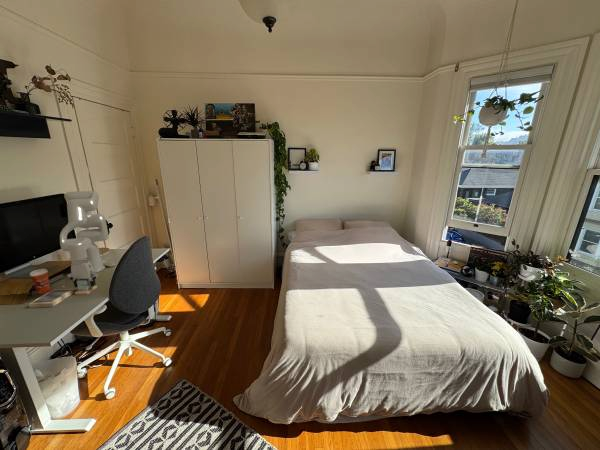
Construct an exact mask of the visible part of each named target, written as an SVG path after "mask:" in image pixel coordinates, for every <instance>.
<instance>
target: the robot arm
mask: <svg viewBox="0 0 600 450" xmlns="http://www.w3.org/2000/svg"><path fill="white" fill-rule="evenodd" d="M63 197H64V199H65V201H66V208H67V210H66V211H67V219H68V223H67V224H66V225H65V226H64V227H63V228H62V229H61V231H60V234H59V245H60V248H61V250H62V251H63V252H68V253H69V257H70V261H71V264H70V272H71V273H68V274H67V278H69V280H71V282H73V286H74V288H78V285H77V280H79V279H87V278H88V279H89V280H91V281H90V284H91V287H93V286H95V285H97V284H96V279H97V278H98V277H99V272H101V270H102V271H103V269H104V268H106V266H105V264H104V263H106V260H102V258H101V253H100V249H99V245H97V244H96V242H98V243H99V242H105V241H108V239H109V230H108V225H107V220H106V219H107V218H106V217H105V215H103V214H101V213H94V214H92V212H94V211H97V209H98V207H99V206H98V205H99V200H100V199H99V197H100V196H99V194H98V192H96V191H94V190H84V191H83V190H82V191H81V190H80V191H78V190H77V191H68V192H67V191H66V192H65V193H64V196H63ZM78 227H79V228H80V229H82V230H79V231H78V232H77V233H76V238H68V235H69V233H70V232H71V231H73V230H75V229H76V228H78ZM103 264H104V265H103ZM104 270H105V269H104Z"/></svg>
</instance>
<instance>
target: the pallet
mask: <svg viewBox="0 0 600 450" xmlns="http://www.w3.org/2000/svg"><path fill="white" fill-rule="evenodd" d="M90 281H91V280H89V279H88V278H87V279H77V285H78V287H77V290H76V291H75V292H74V295H76V296H78V295H80V296H81V295H89V294H91V293H92V291H94V290H95V289H97V288H98V285H97V284H96V285H95V286H93V287H91V284H90Z"/></svg>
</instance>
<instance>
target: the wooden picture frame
mask: <svg viewBox="0 0 600 450" xmlns="http://www.w3.org/2000/svg"><path fill="white" fill-rule="evenodd" d="M75 292H76V291H75V288H64V289H63V288H58V289H57V288H56V289H50V291H48V292H46V293H44V294H43V295H41V296H39V297H38V298H36V299H35V300H33V301H30V303H28V308H33V309H34V308H49V307H50V308H51V307H52V308H53V307H54V306H56V305H57V304H60V303H61V302H62V301H64V300H65V299H67V298H68V297H70V296H71V295H73V294H75Z"/></svg>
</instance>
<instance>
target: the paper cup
mask: <svg viewBox="0 0 600 450" xmlns="http://www.w3.org/2000/svg"><path fill="white" fill-rule="evenodd" d="M48 272H49V271H48V269H46V268H39V269H35V270H32V271H31V272H30V273H29V276H30V277H31V280H32V283H33V282H35V284H34V283H33V285H34V289H35V290H36V293H37V294H39V295H41V294H46V293H48V292H50V291H51V286H50V285H51V284H50V280H49V275H48Z"/></svg>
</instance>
